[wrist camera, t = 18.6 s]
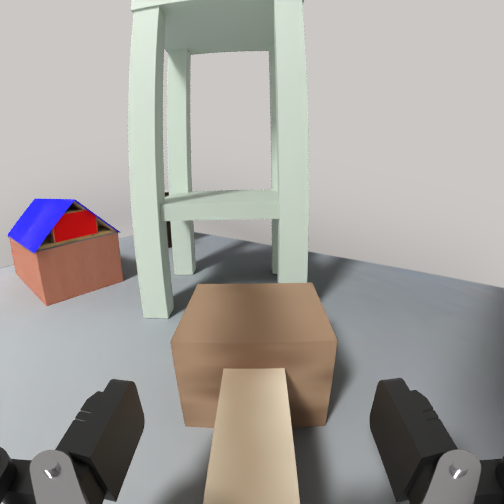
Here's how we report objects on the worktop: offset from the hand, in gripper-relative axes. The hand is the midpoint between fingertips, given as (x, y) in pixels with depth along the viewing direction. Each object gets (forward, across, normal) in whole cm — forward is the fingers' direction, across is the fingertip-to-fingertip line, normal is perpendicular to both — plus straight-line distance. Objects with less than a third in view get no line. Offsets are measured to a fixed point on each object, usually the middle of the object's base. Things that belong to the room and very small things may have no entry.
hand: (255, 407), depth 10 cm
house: (+31, +29, +7) cm, 43 cm away
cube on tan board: (+3, 0, +7) cm, 7 cm away
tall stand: (+27, +3, +7) cm, 28 cm away
